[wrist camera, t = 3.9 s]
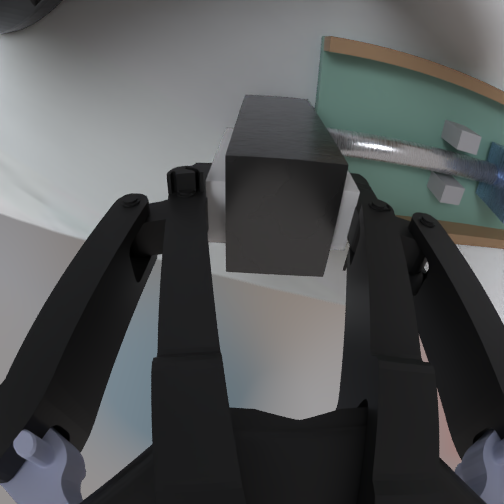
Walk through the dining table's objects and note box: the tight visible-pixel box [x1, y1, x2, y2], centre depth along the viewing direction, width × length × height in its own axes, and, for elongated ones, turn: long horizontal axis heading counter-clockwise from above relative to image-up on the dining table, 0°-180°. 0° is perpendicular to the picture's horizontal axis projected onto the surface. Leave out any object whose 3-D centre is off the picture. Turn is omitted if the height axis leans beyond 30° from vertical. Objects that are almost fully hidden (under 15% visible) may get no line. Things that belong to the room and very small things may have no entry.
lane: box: [315, 36, 504, 249], centre depth 19 cm, size 14×28×4 cm, turn 88°
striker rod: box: [225, 95, 504, 277], centre depth 15 cm, size 5×22×11 cm, turn 88°
